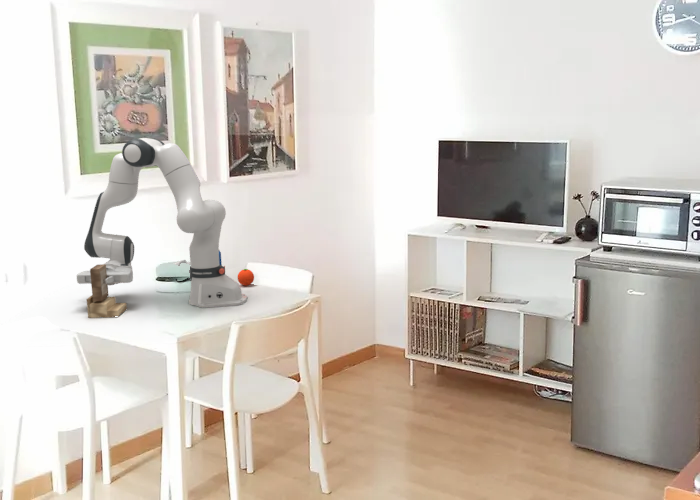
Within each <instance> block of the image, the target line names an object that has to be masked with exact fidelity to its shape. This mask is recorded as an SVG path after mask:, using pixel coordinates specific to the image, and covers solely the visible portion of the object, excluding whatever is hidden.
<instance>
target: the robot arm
mask: <svg viewBox="0 0 700 500" xmlns="http://www.w3.org/2000/svg"><path fill="white" fill-rule="evenodd" d="M151 167H152V168H153V167H158V168H159V169H160V171H161V173H162V175H163V177H164V179H165V181H166V182H167V185H168V186H169V189H170V190H171V193H172V195H173V196H174V197H173V198H174V199H175V204H176V209H177V215H176V224H177V226H178V228H179V229H180V230H181V231H182V232H183V233H187V234H193V236H192V240H191V242H190V244H189V247H188V250H189V262H190V265H191V266H190V270H189V273H190V278H189V279H190V294H189V300H188V304H189V305H192V306H196V307H198V308H215V307H217V308H218V307H229V306H232V307H233V306H239V305H240V306H241V305H243V304H245V303H246V302H247V301H248V295H247V294H246V293H242V290H241V287H240V283H239V282H237V281H236V280H234V279H233V278H232V277H230V276H229V275H227V274H226V265H224V266H223V264H222V265H220V264H219V250H220V247H219V246H220V237H221V231H222V225H223V222H224V221H225V218H226V215H227V213H226V208H225V205H224V204H223V203H222V202H221V201H218V200H215V199H205V200H203V198H202V195H201V189H200V187H201V181H200V179H199V177H198V175H197V173H196V172H195V170H194V167H193V166H192V164H191V162H190V160H189V159H188V157H187V155H186V154H185V152H184V151H183V150H182V149H181V147H180V146H179V145H178V144H176V143H173V142H169V143H164V142H163V141H162V140H160V139H157V138H149V137H142V138H141V137H140V138H139V137H138V138H133V139H130V140H128V141H127V142H125V144H124V145H123V146H122V150H121V152H120V153H117V154H115V155H114V156H113V158H112V161H111V164H110V167H109V175H108V183H107V186H106V189H105V190H104V191H102V192H100V193H99V195H98V197H97V199H96V203H95V205H94V210H93V214H92V216H91V221H90V225H89V228H88V232H87V235H86V238H85V240H84V246H83V249H84V251H85V253H86V254H87V255H88V256H89V257H90V258H95V259H96V258H102V259H109V260H108V261H106V262H104V263H103V264H106V272H107V278H104V279H103V284H108V286H114V285H117V284H129V283H132V282H133V281H134V273H133V265H132V261H133V259H134V255H135V245H134V244H135V243H134V242H133V240H132V238H130V236H128V235H122V234H115V233H114V234H112V233H106V232H105V233H104V232H103V231H102V229H103V225H104V222H105V217H106V214H107V212H108V211H109V210H110V209H113V208H115V207H120V206H122V205H126V204H129V203H131V202H133V200H135V198H136V196H137V194H138V187H139V179H140V177H139V176H140V172H141V170H142V169H143V168H151ZM76 282H77V284H80V285H81V284H82V285H85V284H86V285H87V284H89V285H90V284H91V275H90V270H83V271H80V272H79V273H77V274H76Z"/></svg>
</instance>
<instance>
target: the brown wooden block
mask: <svg viewBox="0 0 700 500" xmlns="http://www.w3.org/2000/svg"><path fill="white" fill-rule="evenodd" d="M89 271H90V275H91V283H90V285H91V293H92V295H91V296H93V301H102V300H104V299H105V298H106V297H110V295H109V287H108V286H109V285H108V284H103V279H104V278H107V272H106V264H104V263H103V264H96V265H95V266H93V267H92V268H89Z"/></svg>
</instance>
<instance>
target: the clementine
mask: <svg viewBox="0 0 700 500" xmlns="http://www.w3.org/2000/svg"><path fill="white" fill-rule="evenodd" d="M237 281H238V284H239V285H242V286H246V287H247V286H250V285H251V284H252V283H254V281H255V275H254V272H253V271H252V270H250V269H249V268H244V269H241V270H240V271H239V272H238V274H237Z"/></svg>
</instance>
